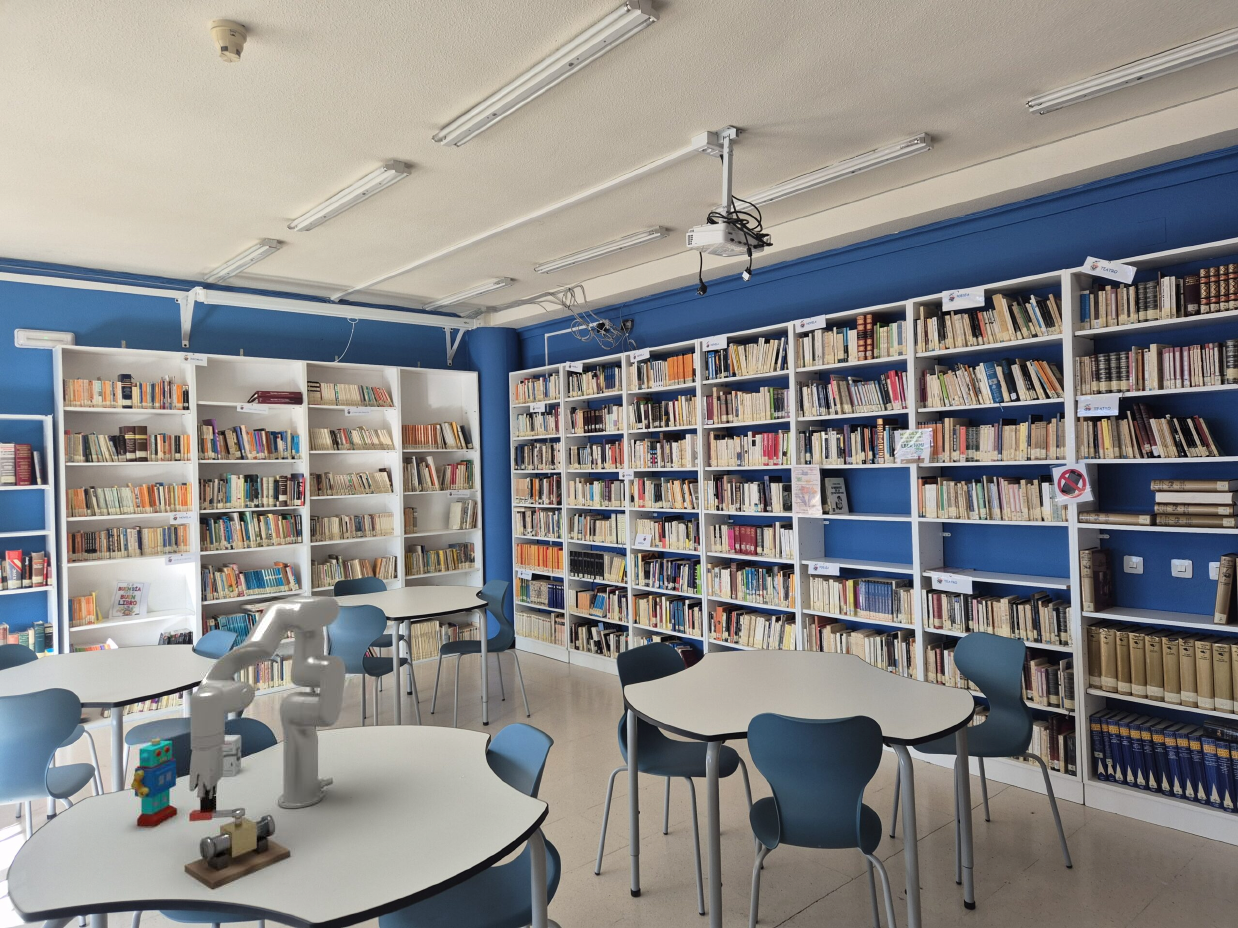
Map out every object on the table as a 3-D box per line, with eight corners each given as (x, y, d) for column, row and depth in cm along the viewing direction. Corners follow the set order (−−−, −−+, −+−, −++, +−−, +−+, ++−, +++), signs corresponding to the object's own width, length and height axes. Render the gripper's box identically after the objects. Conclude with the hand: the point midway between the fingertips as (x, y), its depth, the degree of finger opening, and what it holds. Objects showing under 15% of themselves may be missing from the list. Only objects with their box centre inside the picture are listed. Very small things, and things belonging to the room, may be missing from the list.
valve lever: (247, 813, 188) (247, 806, 188) (242, 818, 185) (242, 811, 185) (194, 816, 187) (194, 809, 187) (188, 821, 184) (188, 814, 184)
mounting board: (261, 840, 198) (261, 835, 198) (290, 856, 189) (290, 850, 189) (184, 871, 183) (184, 864, 183) (212, 889, 174) (212, 882, 174)
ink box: (207, 777, 243) (207, 740, 243) (214, 771, 248) (215, 735, 248) (234, 776, 243) (234, 739, 243) (241, 770, 248) (241, 734, 248)
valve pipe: (263, 841, 194) (263, 802, 195) (276, 847, 191) (276, 807, 191) (198, 867, 181) (198, 825, 182) (210, 874, 178) (210, 831, 178)
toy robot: (148, 829, 205) (149, 737, 206) (130, 828, 206) (130, 735, 207) (181, 811, 216) (181, 724, 217) (163, 810, 218) (163, 722, 218)
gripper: (203, 730, 195) (203, 801, 195) (179, 751, 181) (179, 828, 180) (234, 728, 197) (234, 799, 196) (212, 748, 182) (213, 825, 181)
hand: (208, 813), depth 188 cm, fingers closed
